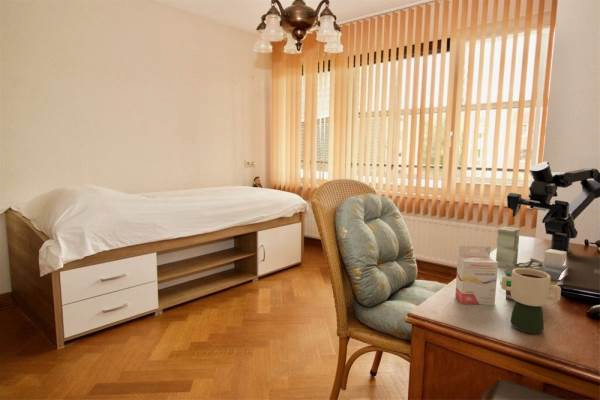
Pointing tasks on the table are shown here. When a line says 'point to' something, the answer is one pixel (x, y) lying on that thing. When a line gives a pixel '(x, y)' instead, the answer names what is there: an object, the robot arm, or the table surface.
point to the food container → (530, 265)
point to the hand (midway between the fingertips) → (527, 218)
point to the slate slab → (554, 270)
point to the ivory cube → (555, 256)
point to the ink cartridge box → (476, 276)
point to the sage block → (507, 246)
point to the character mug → (529, 297)
